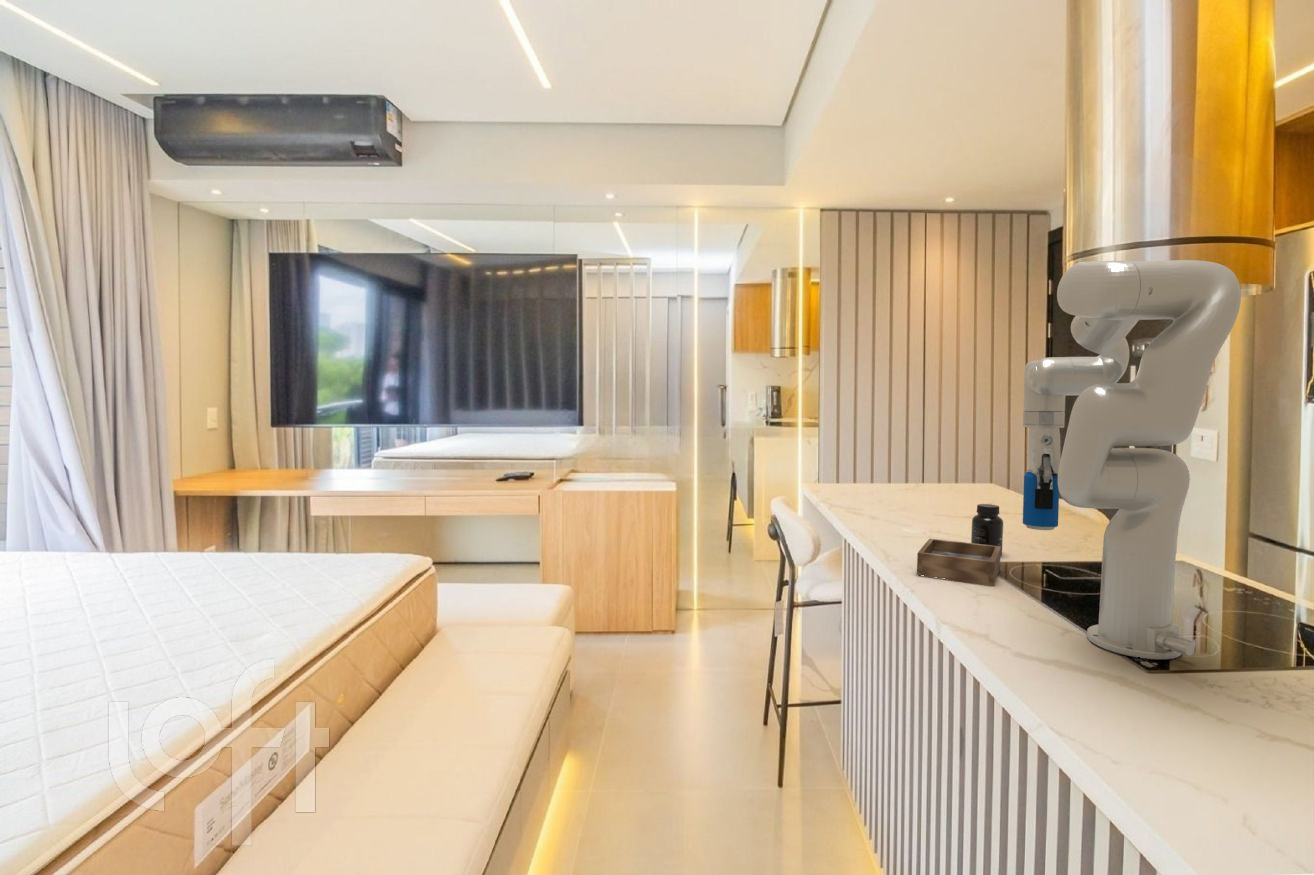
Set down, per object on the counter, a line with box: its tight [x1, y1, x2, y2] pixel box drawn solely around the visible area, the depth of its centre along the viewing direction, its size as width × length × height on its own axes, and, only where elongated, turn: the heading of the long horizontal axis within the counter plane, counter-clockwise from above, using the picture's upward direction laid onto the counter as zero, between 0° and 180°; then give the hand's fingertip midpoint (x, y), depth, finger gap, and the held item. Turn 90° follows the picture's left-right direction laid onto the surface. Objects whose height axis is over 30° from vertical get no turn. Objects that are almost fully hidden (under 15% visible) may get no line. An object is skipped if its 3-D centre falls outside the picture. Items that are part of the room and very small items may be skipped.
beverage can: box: [1022, 469, 1060, 531], centre depth 144 cm, size 6×6×12 cm
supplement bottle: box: [970, 503, 1004, 557], centre depth 166 cm, size 7×7×12 cm
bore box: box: [916, 538, 1001, 587], centre depth 152 cm, size 15×15×5 cm
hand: (1040, 505), depth 144 cm, fingers closed on beverage can, 6 cm apart
